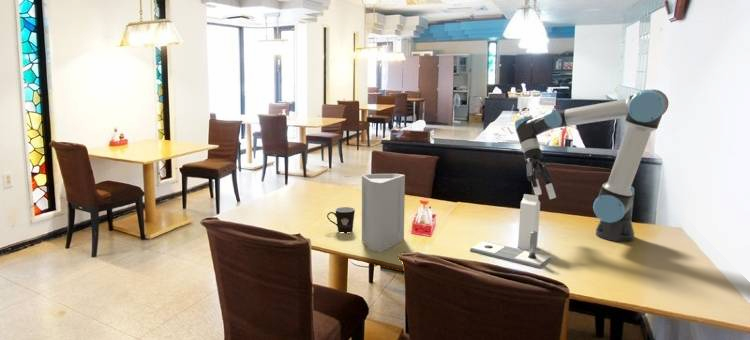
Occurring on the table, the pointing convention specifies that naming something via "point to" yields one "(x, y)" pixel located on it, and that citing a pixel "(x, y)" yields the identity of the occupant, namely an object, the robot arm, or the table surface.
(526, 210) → the milk
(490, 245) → the plate
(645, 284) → the table surface
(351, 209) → the coffee mug
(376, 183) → the tall triangular prism
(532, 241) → the steel pin
